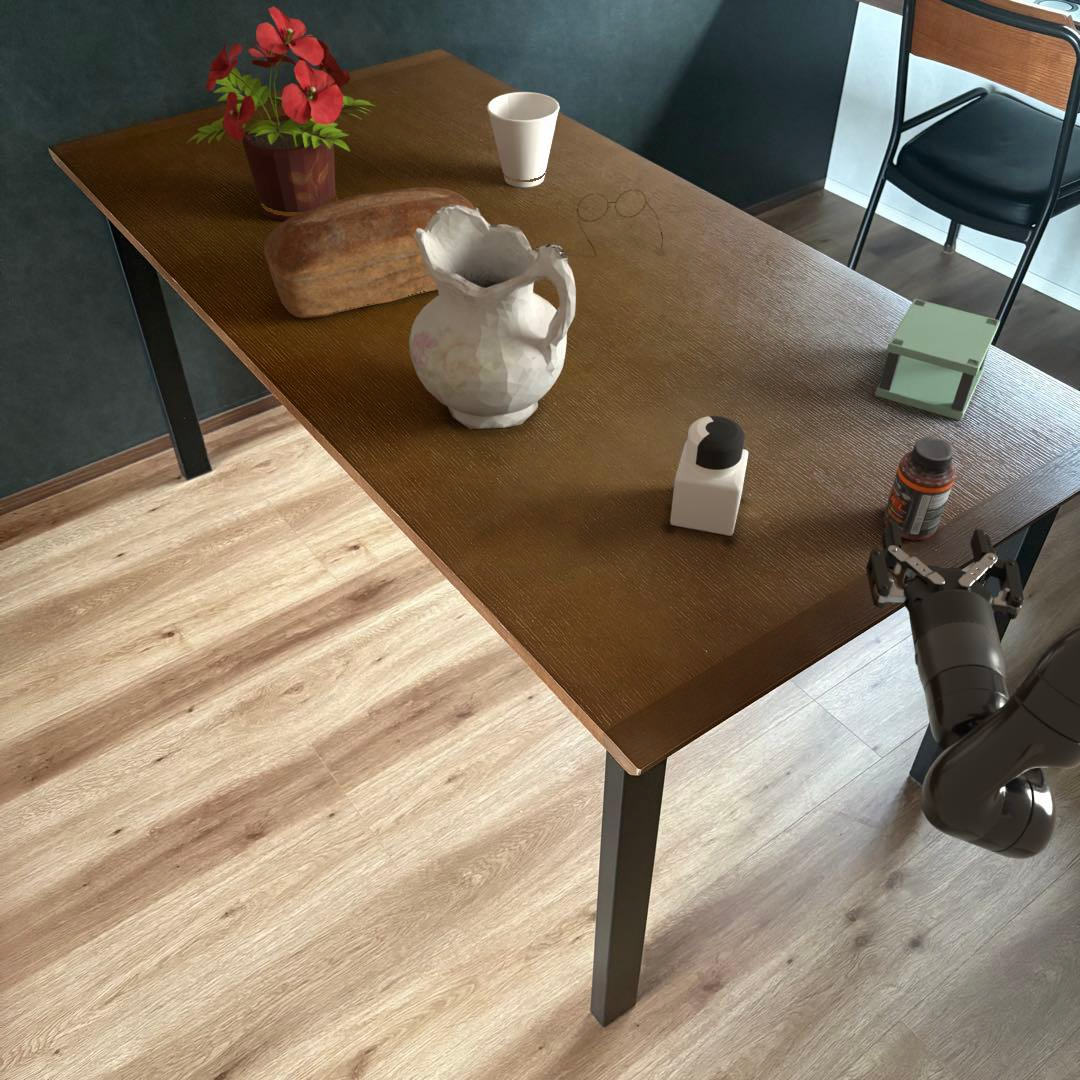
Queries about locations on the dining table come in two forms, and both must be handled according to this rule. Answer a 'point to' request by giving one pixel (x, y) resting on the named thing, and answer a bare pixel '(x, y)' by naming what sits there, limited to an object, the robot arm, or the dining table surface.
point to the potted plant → (285, 117)
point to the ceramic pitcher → (489, 319)
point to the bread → (354, 251)
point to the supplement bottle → (921, 488)
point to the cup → (523, 134)
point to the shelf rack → (936, 358)
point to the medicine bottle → (710, 476)
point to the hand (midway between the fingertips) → (933, 531)
